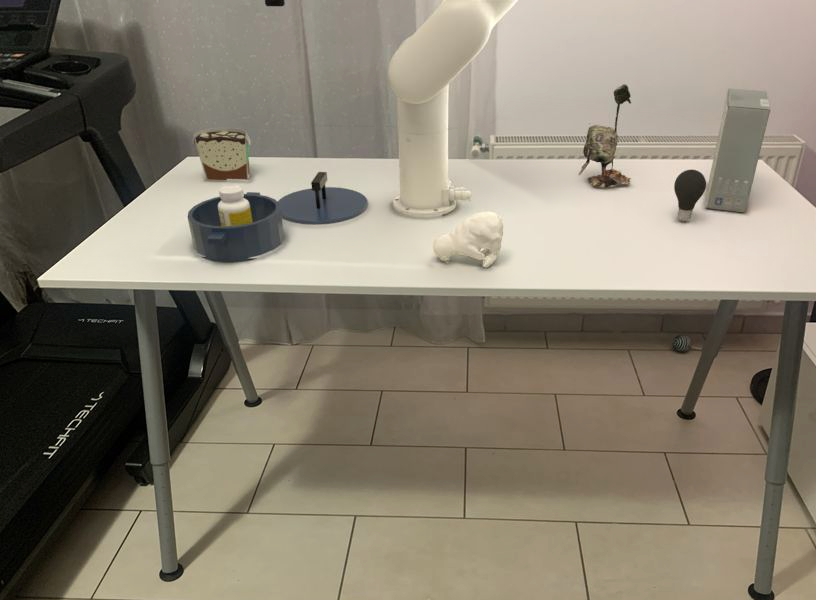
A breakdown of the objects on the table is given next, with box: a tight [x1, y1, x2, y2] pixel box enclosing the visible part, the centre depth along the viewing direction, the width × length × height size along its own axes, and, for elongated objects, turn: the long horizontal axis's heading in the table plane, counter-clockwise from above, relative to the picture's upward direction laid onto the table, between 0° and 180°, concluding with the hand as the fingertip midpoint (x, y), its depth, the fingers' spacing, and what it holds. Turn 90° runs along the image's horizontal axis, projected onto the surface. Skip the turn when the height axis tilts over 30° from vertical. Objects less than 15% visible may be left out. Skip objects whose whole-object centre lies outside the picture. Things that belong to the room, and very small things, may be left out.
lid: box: [277, 171, 369, 225], centre depth 140 cm, size 18×18×6 cm
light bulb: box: [673, 169, 707, 223], centre depth 133 cm, size 6×6×10 cm
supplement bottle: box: [218, 184, 253, 226], centre depth 125 cm, size 5×5×10 cm
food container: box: [192, 127, 252, 182], centre depth 155 cm, size 12×6×10 cm, turn 84°
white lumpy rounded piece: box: [432, 211, 504, 269], centre depth 120 cm, size 6×8×12 cm
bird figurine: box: [577, 83, 632, 188], centre depth 148 cm, size 8×11×20 cm
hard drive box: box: [705, 88, 772, 213], centre depth 141 cm, size 16×8×20 cm, turn 162°
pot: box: [187, 191, 286, 263], centre depth 126 cm, size 16×21×6 cm
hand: (283, 2), depth 124 cm, fingers open, 9 cm apart
